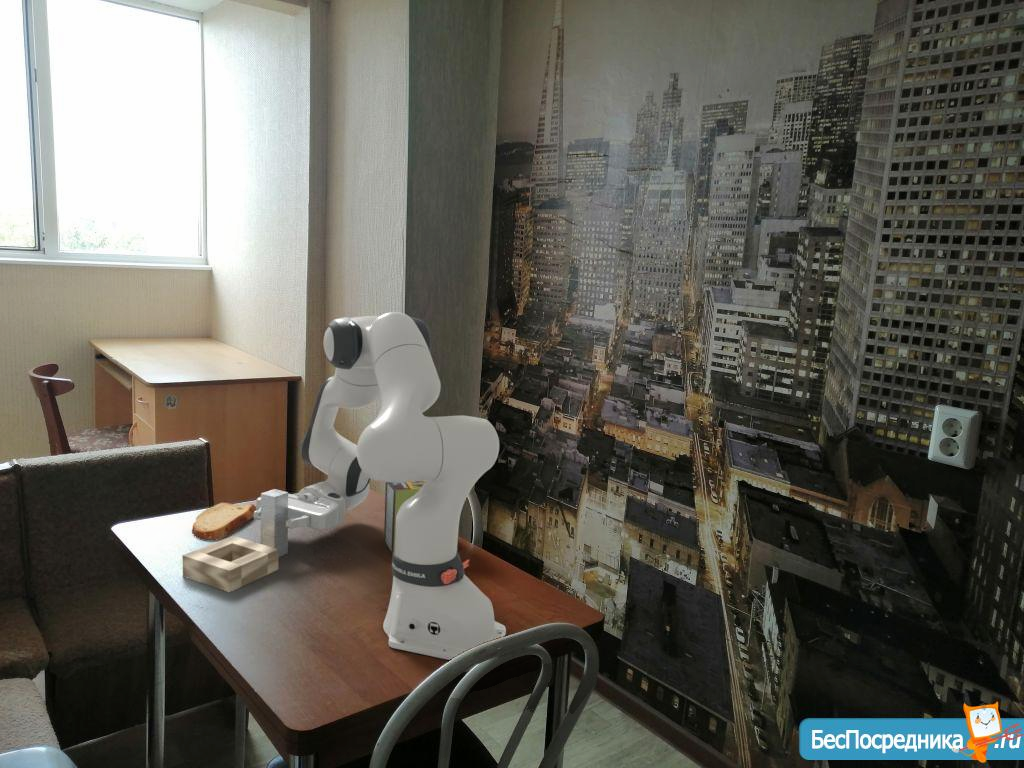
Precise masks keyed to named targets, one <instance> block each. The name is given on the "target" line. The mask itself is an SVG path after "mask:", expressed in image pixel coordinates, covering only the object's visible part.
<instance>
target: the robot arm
mask: <svg viewBox="0 0 1024 768" xmlns="http://www.w3.org/2000/svg"><path fill="white" fill-rule="evenodd" d="M323 350H324V353H325V356H326V359H327V361H328V363H329V364H331V366H332V367H334V368H335V371H334V372H335V373H334V375H333V376H330V377H329V378H327V379H326V380H325V381H324V383H323V384H322V385H321V388H320V389H319V392H318V394H317V398H316V400H315V401H316V402H315V405H314V408H313V411H312V416H311V419H310V422H309V426H308V427H307V430H306V433H305V434H304V436H303V438H302V441H301V444H300V454H301V455H300V456H301V459H302V461H303V462H304V463H305V464H307V465H309V466H311V467H313V468H315V469H317V470H319V471H321V472H322V473H324V474H325V475H327V479H326V480H324V481H320V482H319V481H318V482H317V483H314V484H311V485H308V486H305V487H302V489H300V490H299V491H298V493H297V495H295V494H292V493H288V520H287V521H286V528H288V530H289V529H290V530H293V529H297V528H310V529H313V530H316V531H328V530H330V529H333V528H336V527H337V526H342V525H344V524H345V515H346V512H348V511H350V510H351V509H354V508H356V507H357V506H359V505H360V504H361V503H363V502H364V501H365V500H366V499H367V498H368V495H369V493H370V486H371V485H370V481H374V482H381V483H386V482H390V483H403V482H413V481H423V480H426V481H425V483H424V485H423V486H422V488H421V489H420V490H419V491H418V492H417V493H416V494H415V495H414V496H412V497H411V498H409V499H408V500H406V501H405V502H404V503H403V504H402V505H401V507H400V508H399V510H398V513H397V516H396V537H395V550H394V551H393V554H392V559H391V574H392V587H391V593H390V599H389V603H388V608H387V612H386V615H385V618H384V620H383V625H382V628H383V631H384V632H385V634H386V636H387V637H388V646H389V647H390V648H392V649H396V650H402V651H406V652H411V653H414V654H420V655H425V656H430V657H433V658H438V659H442V660H449V661H451V660H450V659H452V658H453V657H455V656H457V655H458V654H460V653H462V652H463V651H466V650H468V649H470V648H473V647H475V646H477V645H479V644H482V643H484V642H487V641H490V640H493V639H496V638H499V637H503V636H505V635H506V636H507V628H506V626H505V625H504V624H502V623H500V622H498V621H496V620H495V613H494V608H493V604H492V601H491V600H490V598H489V597H488V596H487V595H486V594H485V593H483V592H482V591H481V590H480V588H479V587H478V586H477V585H475V584H474V582H473V581H471V579H470V578H469V577H468V576H466V574H465V569H466V568H467V567H469V566H470V563H469V562H470V559H467V560H465V561H463V562H462V559H461V557H460V554H459V551H458V549H457V538H458V539H459V530H458V528H459V527H460V518H461V513H462V510H463V507H464V504H465V502H466V499H467V497H468V496H469V494H470V492H471V490H472V489H473V487H474V485H475V484H476V483H477V482H478V480H479V479H480V478H481V477H483V475H484V474H485V473H486V472H488V471H489V470H490V469H492V467H493V466H494V465H495V463H496V461H497V459H498V456H499V453H500V439H499V435H498V432H497V431H496V429H495V427H494V426H493V424H492V423H491V422H490V421H489V420H488V419H485V418H481V417H477V416H469V415H448V416H447V415H445V416H426V415H424V414H423V413H425V412H426V411H427V410H429V409H430V408H431V407H432V406H433V405H434V404H435V403H436V401H437V400H438V399H439V397H440V393H441V389H442V387H441V386H442V385H441V380H440V377H439V374H438V371H437V369H436V366H435V363H434V361H433V358H432V354H431V351H432V335H431V331H430V328H429V326H428V325H427V324H426V322H425V321H424V320H422V319H420V318H417V317H411V316H409V315H408V314H406V313H404V312H401V311H389V312H386V313H383V314H381V315H366V316H365V315H364V316H355V317H354V316H353V317H348V316H345V317H344V316H343V317H339V318H336V319H333V320H331V321H330V322H329V323H328V324H327V326H326V328H325V332H324V336H323ZM379 399H380V401H381V402H380V403H381V404H380V410H379V412H378V415H377V416H376V418H375V419H374V420H373V421H372V422H371V423H370V424H368V425H367V426H366V427H365V428H364V429H363V431H362V433H361V434H360V435H359V438H358V441H357V444H356V443H354V442H352V441H351V440H349V439H347V438H345V437H344V436H342V435H340V433H339V432H337V431H336V429H335V426H334V425H335V422H336V418H337V415H338V412H339V408H341V409H347V410H361V409H364V408H368V407H370V406H371V405H374V404H375V403H376V402H377V401H379ZM255 506H256V511H254V513H253V517H252V518H253V519H254V520H257V521H261V496H259V497H257V498H256V501H255Z"/></svg>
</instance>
